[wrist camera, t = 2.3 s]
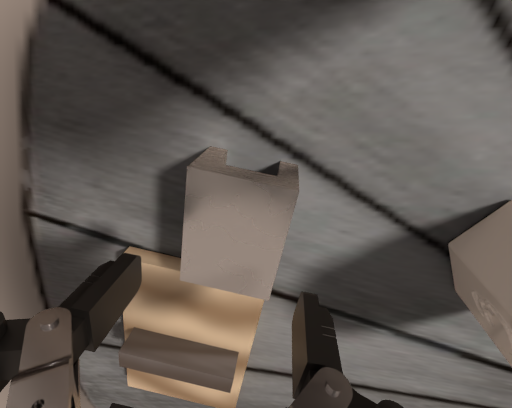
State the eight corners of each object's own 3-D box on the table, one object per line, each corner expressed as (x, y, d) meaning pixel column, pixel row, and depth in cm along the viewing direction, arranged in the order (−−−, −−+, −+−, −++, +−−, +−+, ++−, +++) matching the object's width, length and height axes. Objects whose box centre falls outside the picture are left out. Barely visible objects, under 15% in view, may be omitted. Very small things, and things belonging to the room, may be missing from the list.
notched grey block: (200, 242, 22) (179, 280, 18) (210, 146, 18) (187, 166, 14) (273, 258, 22) (268, 300, 18) (297, 164, 18) (299, 191, 14)
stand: (129, 246, 23) (98, 278, 19) (268, 277, 22) (263, 317, 19) (135, 372, 31) (114, 411, 27) (236, 396, 30) (229, 439, 27)
